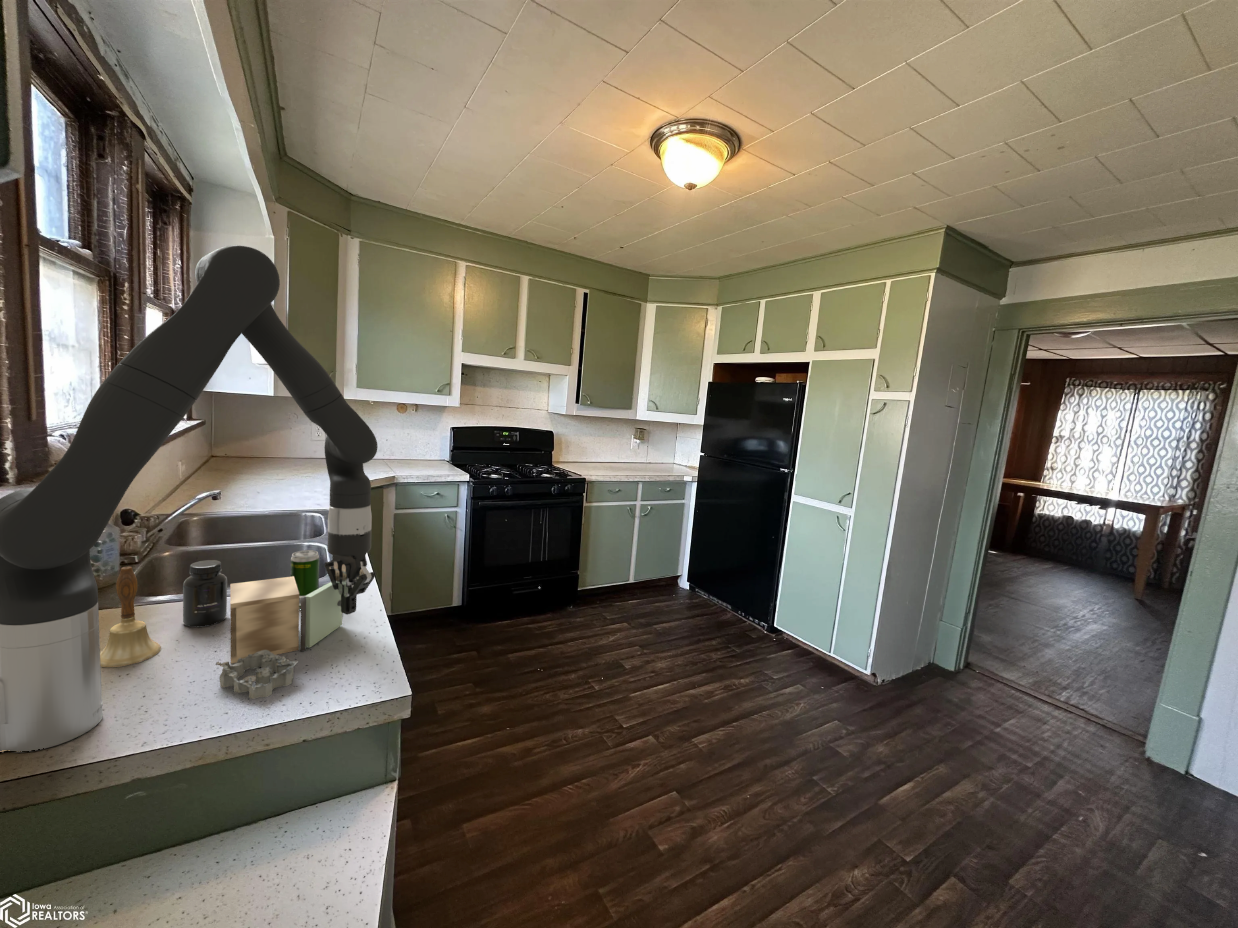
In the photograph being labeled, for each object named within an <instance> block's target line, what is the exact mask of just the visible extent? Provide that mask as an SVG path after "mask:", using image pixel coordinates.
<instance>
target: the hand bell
mask: <svg viewBox="0 0 1238 928" xmlns="http://www.w3.org/2000/svg"><path fill="white" fill-rule="evenodd" d="M115 584H116V586H115V587H116V588H115V589H116V593H117V594H116V595H117V597H118V599H119V601H120V604H121V605H120V606H121V607H120V608H121V611H120V618H121V621H120V622H119V623H117V624H115V625H113V626H112V627H111V628H110V630H109V633H108V634H109V635H108V636H109V637H108V639H107V642H106V645H105V647H104V648H103V649H102V650H101V651H100V661H101V668H117V667H119V668H120V667H125V666H131V665H134V664H138V663H140V662H144V661H147V660H149V659H151V658H153V657H155V656H156V655H157V654H159V653H160V652H161V650H162V646H161V644H159V642H157V641H154V640H153V639H152V638H151V637H150V635H149V632H148V628H147V624H146V622H144V621H142V620H137V619H136V616H135V615H136V613H135V598H136V595H137V591H138V579H137V577H136V574H135V572H134V570H133V567H132V566H123V567H121V568H120V572H119V575H118V577H117V579H116V583H115Z"/></svg>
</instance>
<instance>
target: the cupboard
mask: <svg viewBox="0 0 1238 928" xmlns="http://www.w3.org/2000/svg"><path fill="white" fill-rule="evenodd" d="M229 586H230V589H229V590H230V592H229V593H230V599H229V602H230V604H229V605H230V610H229V611H230V619H229V620H230V665H233V664H236V663H237V661H238V659H239V658H242V659H243V658H246V657H247V656H248V655H249V654H254V653H256V652H258V651H262V650H268V651H270V652H271V653H273V654H275V655H281V654H285V653H290V652H291V653H292V652H296V651H299V650H300V652H305V651H306V647H305V635H306V597H305V596H303V597H301V610H299V591H298V588H297V585H296V581H295V578H294V576H292V577H290V576H286V577H277V578H268V579H262V580H261V579H260V580H252V581H245V582H236V583H230V585H229ZM299 625H300V626H299ZM299 633H300V635H299ZM299 640H300V641H299Z"/></svg>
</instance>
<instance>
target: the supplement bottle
mask: <svg viewBox="0 0 1238 928" xmlns="http://www.w3.org/2000/svg"><path fill="white" fill-rule="evenodd" d="M189 575H190V576H189V577H187V578H186V579H185V580H184V581H183V583H182V622H183V625H185V626H186V627H190V628H191V627H192V628H202V627H209V626H213V625H217V624H219V623H221V622H223V621H224V620H225V619H226V617H227V613H228V612H227V611H228V610H227V609H228V608H227V606H228V577H227V576H226V575H225V574H223V573H222V562H221V561H220V560H217V559H207V560H206V559H205V560H200V561H196V562H192V563H191V564H190V565H189Z"/></svg>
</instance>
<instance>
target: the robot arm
mask: <svg viewBox="0 0 1238 928" xmlns="http://www.w3.org/2000/svg"><path fill="white" fill-rule="evenodd" d="M194 278H195V281H196V285H195V287H194V288H193V289H192V291H191V292H190V294H189V296H187V297H188V298H186V300H185V301H184V302H183V304H182V305H180V307H179V308H178V309H177V311H175V313H173V314H172V315H171V316H170V317H169V318H168V319H166V320H165V321H163V323H161V324H160V325H159V326H157V327H156V328H155V329H153V330H152V331H150V333H149V334H147V335H146V336H145V337H144V338H143V339H142V340H140V342H138V343H137V344H136V345H135V346H134V347H133V348H132V349H131V350H130V351H129V352H127V354H125V356H124V357H123V358H122V359H121V360H120V361H119V363H118V364H117V365H115V367H114V368H113V369H112V371H110V373H109V374H108V376H107V377H106V378H105V379H104V380H103V382H102V383H101V384H100V386H99V387H98V388H97V390H96V391H95V393H94V394H93V395H92V398H91V399H90V401H89V403H88V404H87V407H86V409H85V411H84V414H83V415H82V418H81V420H80V423H79V424H78V426H77V427H78V428H77V429H76V432H75V434H74V436H73V439H72V441H71V442H70V445H69V446H68V448H67V450H66V452H65V453H64V454H63V456H62V457H61V458H60V459H59V461H58V462H57V463H56V465H55V466H54V467H53V468H52V469H51V470H50V471H49V472H48V473H47V475H45V477H44V478H43V479H42V480H41V481H40V482H39V483H38V484H37V485H36V486H35V487H29V488H22V489H19V490H16V491H13V492H10V493H8V494H6V495H4V496H2V497H0V751H2V750H10V751H17V752H16V753H23V752H22V751H29V752H32V751H31V750H35V751H39V750H38V749H40V750H44V749H48V748H52V747H55V746H58V745H61V744H64V743H66V742H69V741H71V740H75V738H77V737H80V736H81V735H84V734H86V733H87V732H89V731H91V730H92V729H94V728H95V727H96V726H97V725H98V724H99V723H100V722H101V721H102V719H103V693H102V688H103V687H102V686H103V685H102V667H101V661H100V652H101V644H100V643H101V641H100V637H101V636H100V619H99V615H100V613H99V592H98V591H99V589H98V584H97V581H96V578H95V575H94V572H93V567H92V563H91V562H92V561H91V551H90V550H91V549H92V548H93V547H94V546H95V545H96V544H97V542H98V540H100V538H101V536H102V535H103V532H104V531H105V529H106V528H107V526H108V524H109V522H110V520H111V518H112V516H113V515H114V513H115V511H116V510H117V507H118V506H119V504H120V502H121V501H122V499H123V498H124V496H125V494H126V493H127V491H128V489H129V488H130V485H131V484H132V483H133V481H134V480H135V479H136V478H137V476H138V475H139V473H140V472H141V471H142V470H143V468H144V467H146V465H147V463H148V462H150V460H151V459H152V458H153V457H154V456H155V454H156V453H157V452H158V450H159V449H160V448H161V447H162V445H163V444H164V443H165V441H166V440H167V439H168V437H169V436H170V435H171V434H172V432H173V431H174V430H175V429H176V427H177V426H178V425H179V424H180V422H181V421H182V420H183V419H184V417H185V416H186V415H187V413H189V411H190V410H191V408H192V407H193V406H194V404H195V403H196V401H197V400H198V398H199V397H201V394H202V393H203V392H204V389H205V388H206V386H207V385H208V384H209V383H210V381H211V380H212V378H213V376H214V375H215V374H216V371H217V370H218V368H219V367H220V365H221V364H222V363H223V360H224V359H225V358H226V356H227V354H228V352H229V351H230V349H231V347H232V346H233V345H234V343H235V342H236V341H237V340H238V339H239V337H240V336H241V335H242V336H243V337H244V338H245V339H246V340H247V342H248V343H250V345H251V346H252V347H253V348H254V349H255V350H256V351H257V353H258V354H259V355H260V356H261V358H262V359H263V360H264V361H265V363H266V364H267V365H268V366H269V368H270V369H271V370H272V371H273V373H274V374H275V375H276V376H277V378H278V380H279V381H280V382H281V383H282V384H283V386H284V388H285V389H286V390H287V392H288V393H289V394H290V396H291V397H292V399H293V400H294V402H296V404H297V406H298V407H299V408H300V410H301V411H302V412H303V415H305V416H306V418H308V420H309V421H311V423H313V424H315V425H317V426H318V427H319V428H320V429H321V430H322V431H323V432H324V434H325V435H326V437H325V441H324V446H323V447H324V457H325V463H326V469H327V476H328V478H329V484H330V485H329V506H328V507H329V508H328V515H327V548H326V549H327V553H328V554H330V555H332V556H331V560H330V561H325V562H324V569H325V570H326V573H327V575H328V578H329V580H330V582H331V583H332V585H333V588H334V589H335V590H336V589H338V590H339V594H340V595H341V612H342V614H345V615H351V614H353V613H355V612H356V611H357V601H358V600H357V595H360V594H364V593H365V592H366V591H367V589H368V588H369V586H370V585H371V583H372V582H373V580H374V579H375V577H376V573H375V572H374V571H370V572H369V570H368V569H367V566H368V561H367V557H366V555H367V553H368V552H370V551H371V550H372V526H373V525H372V519H373V517H372V515H373V514H372V510H371V507H372V506H371V502H372V501H371V500H372V499H371V497H372V485H371V479H370V478H369V477H368V475H367V474H365V470H364V464H366V463H369V462H370V461H371V460H373V459H374V458H375V456H376V454H377V452H378V441H377V437H376V435H375V434H374V432H373V430H372V429H371V427H370V426H369V425H368V424H367V423H366V421H364V419H363V418H362V417H361V416H360V415H359V414H358V412H357V411H355V410H354V408H352V407H351V406H350V404H349V403H348V402H347V401H346V398H345V397H344V395H343V394H342V392H341V390H340V389H339V388H338V387H337V385H336V384H335V382H334V380H333V379H332V377H331V376H330V375H329V373H328V371H326V369H325V368H324V367H323V365H321V363H320V362H319V361H318V360H317V359H316V358H315V357H314V356H313V355H312V354H311V353H310V351H308V349H306V347H304V346H303V345H302V344H301V343H300V342H299V341H298V340H297V339H296V338H295V336H293V334H292V333H291V331H290V330H288V329H287V327H286V326H285V325H284V323H283V322H282V320H281V319H280V318H279V316H278V314H277V312H276V311H275V309H274V307H273V304H272V303H273V302H274V301H275V299H276V298H277V297H278V296H277V295H278V293H279V290H280V285H281V284H280V274H279V271H278V269H277V267H276V265H275V263H274V262H273V260H272V259H271V258H270V257H269V256H268V255H266V254H265V253H264V252H262V251H260V250H259V249H256V248H254V247H250V246H245V245H238V244H237V245H236V244H235V245H226V246H221V247H219V248H218V249H215V250H213V251H212V252H209V253H207V254H205V255H204V256H202V257H201V259H200V260H199V261H198V262H197V264H196V266H195V270H194ZM43 748H44V749H43ZM18 751H19V752H18ZM20 751H21V752H20Z"/></svg>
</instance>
